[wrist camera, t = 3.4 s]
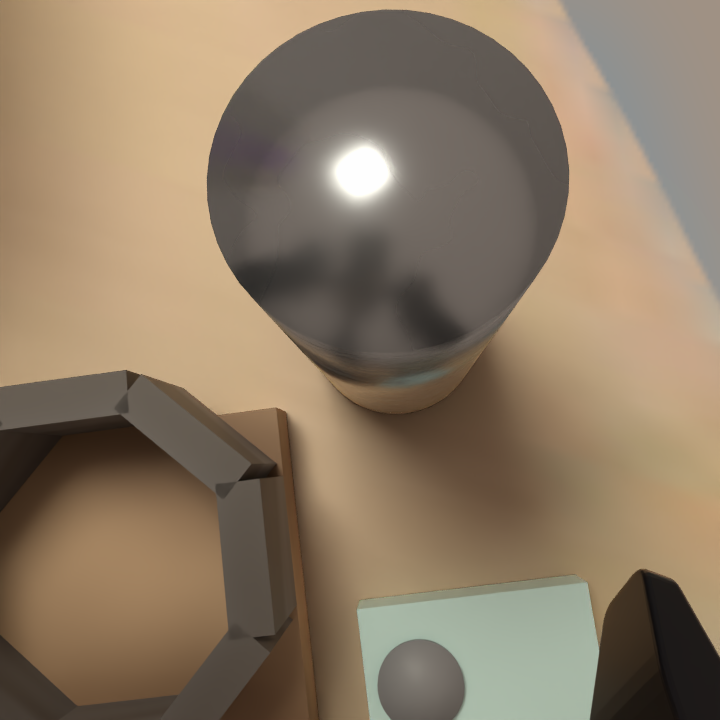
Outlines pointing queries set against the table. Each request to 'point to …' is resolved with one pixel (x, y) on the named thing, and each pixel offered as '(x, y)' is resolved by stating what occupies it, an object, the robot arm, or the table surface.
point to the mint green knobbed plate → (481, 652)
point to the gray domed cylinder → (388, 198)
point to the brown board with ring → (148, 557)
